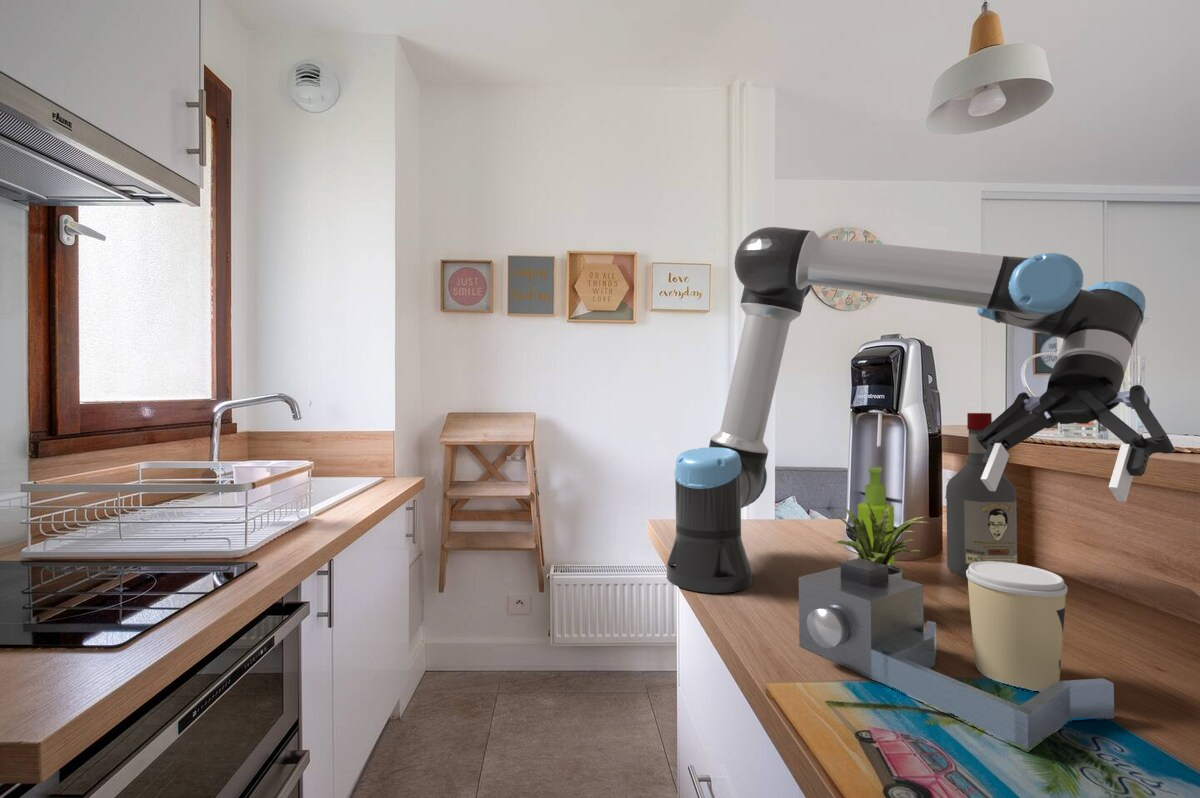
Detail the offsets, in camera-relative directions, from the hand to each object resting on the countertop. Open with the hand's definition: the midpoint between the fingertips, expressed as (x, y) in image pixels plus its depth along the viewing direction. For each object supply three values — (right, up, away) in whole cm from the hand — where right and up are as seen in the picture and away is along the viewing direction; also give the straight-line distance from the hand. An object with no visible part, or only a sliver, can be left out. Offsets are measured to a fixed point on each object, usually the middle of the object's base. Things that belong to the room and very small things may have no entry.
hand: (1046, 489), depth 68 cm
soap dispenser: (-6, -21, +30) cm, 37 cm away
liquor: (+13, -21, +30) cm, 39 cm away
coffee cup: (-8, -21, -6) cm, 23 cm away
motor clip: (-19, -21, -6) cm, 29 cm away
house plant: (-14, -21, +14) cm, 29 cm away
